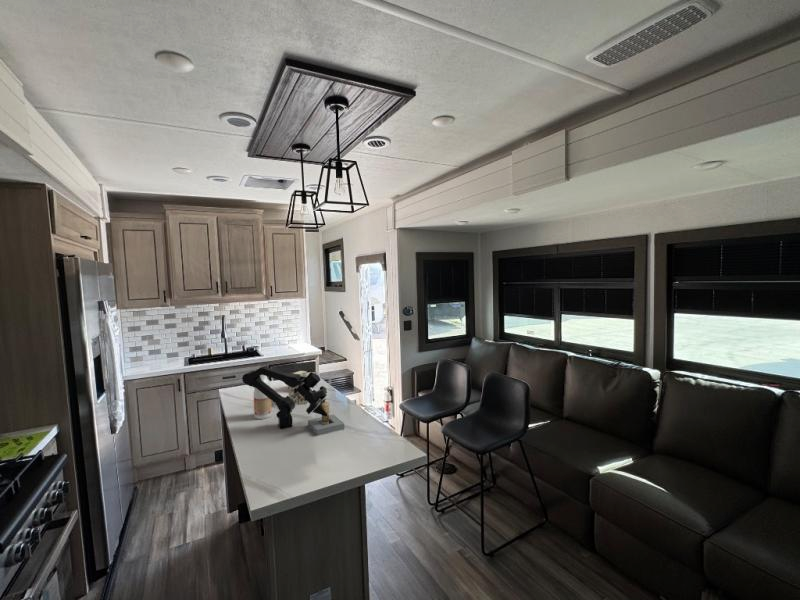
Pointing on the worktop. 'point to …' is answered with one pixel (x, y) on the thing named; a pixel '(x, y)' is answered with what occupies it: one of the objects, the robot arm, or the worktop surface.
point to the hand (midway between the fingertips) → (328, 414)
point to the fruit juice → (262, 402)
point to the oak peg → (326, 408)
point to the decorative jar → (297, 395)
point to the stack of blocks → (302, 374)
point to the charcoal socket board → (322, 429)
